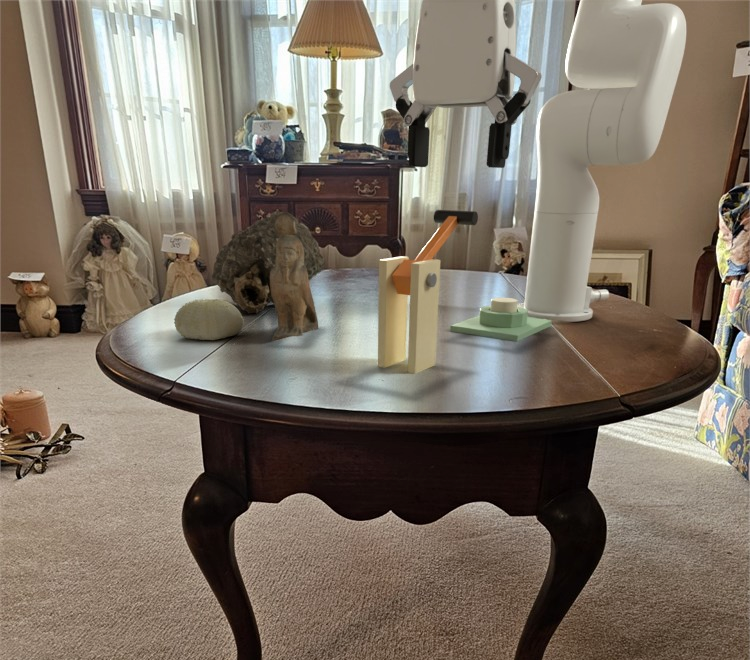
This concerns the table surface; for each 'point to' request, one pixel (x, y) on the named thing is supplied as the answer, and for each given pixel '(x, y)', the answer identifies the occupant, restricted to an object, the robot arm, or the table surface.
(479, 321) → the button block
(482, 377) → the table surface
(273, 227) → the rock
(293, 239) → the brown carved statuette
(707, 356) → the table surface
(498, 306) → the button
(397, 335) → the bracket
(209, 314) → the sea urchin shell
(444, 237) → the lever
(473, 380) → the table surface
